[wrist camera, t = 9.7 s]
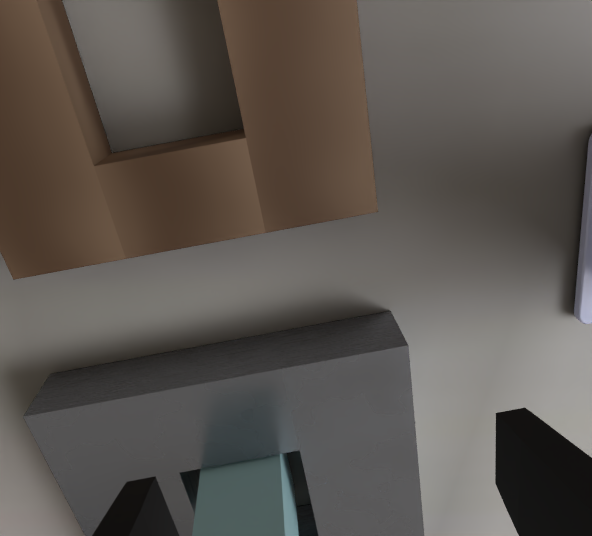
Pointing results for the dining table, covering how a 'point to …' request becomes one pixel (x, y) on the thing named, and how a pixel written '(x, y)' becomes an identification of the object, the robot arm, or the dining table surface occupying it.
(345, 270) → the dining table surface
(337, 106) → the brown square frame
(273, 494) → the plug
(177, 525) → the port plate
